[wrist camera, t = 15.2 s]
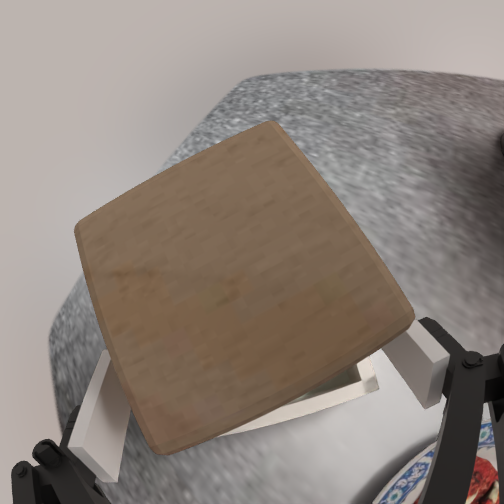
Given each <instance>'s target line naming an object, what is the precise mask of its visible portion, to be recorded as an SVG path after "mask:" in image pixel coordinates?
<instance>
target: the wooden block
mask: <svg viewBox="0 0 504 504" xmlns="http://www.w3.org/2000/svg"><path fill="white" fill-rule="evenodd" d="M74 233H75V238H76V242H77V246H78V251H79V255H80V259H81V263H82V268H83V271H84V275H85V279H86V283H87V286H88V290H89V293H90V297H91V300H92V304H93V307H94V310H95V314H96V317H97V320H98V323H99V326H100V329H101V332H102V335H103V338H104V341H105V344H106V347H107V349H108V352H109V355H110V358H111V360H112V363H113V366H114V368H115V371H116V373H117V376H118V378H119V381H120V383H121V386H122V388H123V391H124V393H125V395H126V398H127V400H128V402H129V405H130V407H131V409H132V411H133V414H134V416H135V418H136V420H137V422H138V425H139V427H140V429H141V431H142V433H143V435H144V437H145V439H146V441H147V443H148V445H149V447H150V448H151V449H152V450H153V452H154V453H155V454H158V455H171V454H174V453H177V452H179V451H182V450H185V449H187V448H190V447H193V446H195V445H198V444H200V443H203V442H205V441H208V440H210V439H213V438H215V437H217V436H220V435H222V434H224V433H227V432H229V431H231V430H233V429H236V428H238V427H240V426H242V425H245V424H247V423H249V422H251V421H253V420H255V419H257V418H259V417H261V416H264V415H266V414H268V413H270V412H272V411H274V410H276V409H278V408H280V407H282V406H284V405H285V404H287V403H289V402H291V401H293V400H295V399H297V398H299V397H301V396H302V395H304V394H306V393H308V392H310V391H312V390H313V389H315V388H317V387H319V386H320V385H322V384H324V383H326V382H327V381H329V380H331V379H333V378H334V377H336V376H338V375H339V374H341V373H343V372H344V371H346V370H347V369H349V368H351V367H352V366H354V365H356V364H357V363H359V362H360V361H362V360H363V359H365V358H367V357H368V356H370V355H371V354H373V353H374V352H376V351H377V350H379V349H380V348H382V347H383V346H385V345H386V344H388V343H389V342H391V341H392V340H394V339H395V338H396V337H398V336H399V335H401V334H402V333H404V332H405V331H406V330H408V329H409V328H410V326H411V325H412V323H413V321H414V320H415V314H414V310H413V308H412V306H411V304H410V303H409V301H408V300H407V298H406V296H405V295H404V293H403V292H402V290H401V288H400V287H399V285H398V284H397V282H396V281H395V279H394V277H393V276H392V274H391V273H390V271H389V270H388V268H387V267H386V265H385V264H384V262H383V261H382V259H381V258H380V256H379V255H378V253H377V252H376V250H375V249H374V247H373V246H372V245H371V243H370V242H369V240H368V239H367V237H366V236H365V235H364V233H363V232H362V230H361V229H360V227H359V226H358V225H357V223H356V222H355V220H354V219H353V218H352V216H351V215H350V214H349V212H348V211H347V209H346V208H345V207H344V205H343V204H342V203H341V201H340V200H339V199H338V197H337V196H336V195H335V193H334V192H333V191H332V189H331V188H330V187H329V186H328V184H327V183H326V182H325V180H324V179H323V178H322V176H321V175H320V174H319V173H318V171H317V170H316V169H315V168H314V166H313V165H312V164H311V163H310V161H309V160H308V159H307V158H306V156H305V155H304V154H303V153H302V151H301V150H300V149H299V148H298V147H297V145H296V144H295V143H294V142H293V141H292V139H291V138H290V137H289V136H288V135H287V133H286V132H285V131H284V130H283V129H282V127H281V126H280V125H279V124H278V123H277V122H275V121H266V122H263V123H261V124H259V125H257V126H254V127H252V128H250V129H248V130H245V131H243V132H241V133H239V134H237V135H235V136H232V137H230V138H228V139H226V140H224V141H222V142H220V143H218V144H216V145H213V146H211V147H209V148H207V149H205V150H203V151H201V152H199V153H197V154H195V155H193V156H191V157H189V158H187V159H186V160H184V161H182V162H180V163H178V164H176V165H174V166H172V167H170V168H168V169H166V170H165V171H163V172H161V173H159V174H157V175H155V176H154V177H152V178H150V179H148V180H146V181H145V182H143V183H141V184H139V185H138V186H136V187H134V188H132V189H131V190H129V191H127V192H125V193H124V194H122V195H120V196H119V197H117V198H115V199H114V200H112V201H110V202H109V203H107V204H105V205H104V206H102V207H100V208H99V209H97V210H96V211H94V212H92V213H91V214H89V215H88V216H86V217H85V218H83V219H82V220H80V221H79V222H78V223H77V224H76V226H75V229H74Z"/></svg>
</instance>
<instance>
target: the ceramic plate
mask: <svg viewBox="0 0 504 504" xmlns="http://www.w3.org/2000/svg"><path fill="white" fill-rule="evenodd" d="M436 444H437V441H435V442H434V443H432V444H431V445H429V446H428V447H427V448H426V449H424V450H423V451H422V452H420V453H419V454H418V455H416V456H415V457H414V458H413V459H412V460H411V461H410V462H409V463H407V464H406V465H405V466H404V467H403V468H402V469H401V470H400V471H399V472H398V473H397V474H396V475H395V476H394V477H393V478H392V479H391V480H390V481H389V482H388V483H387V485H386V486H385V487H384V488H383V489H382V490H381V492H380V493H379V494H378V496H377V497H376V498H375V499H374V501H373V502H372V504H418V501H419V499H420V496H421V493H422V490H423V487H424V484H425V481H426V478H427V475H428V472H429V468H430V465H431V462H432V458H433V455H434V451H435V448H436ZM465 504H499V483H498V470H497V460H496V451H495V443H494V436H493V429H492V423H491V419H488V420H482V422H481V430H480V437H479V443H478V449H477V455H476V460H475V465H474V470H473V475H472V479H471V484H470V488H469V492H468V496H467V500H466V503H465Z"/></svg>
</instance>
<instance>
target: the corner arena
mask: <svg viewBox="0 0 504 504" xmlns="http://www.w3.org/2000/svg"><path fill="white" fill-rule="evenodd" d="M378 389H379V386H378V382H377V379H376V376H375V373H374V369H373V366H372V363H371V360H370V357H369V356H368V357H367V358H365V359H363V360H362V361H360V362H359V363H357V364H356V365H354V366H352V367H351V368H349V369H347V370H346V371H344V372H343V373H341V374H339V375H338V376H336V377H334V378H333V379H331V380H329V381H327V382H326V383H324V384H322V385H320V386H319V387H317V388H315V389H313V390H312V391H310V392H308V393H306V394H304V395H302V396H301V397H299V398H297V399H295V400H293V401H291V402H289V403H287V404H285V405H284V406H282V407H280V408H278V409H276V410H274V411H272V412H270V413H268V414H266V415H264V416H261V417H259V418H257V419H255V420H253V421H251V422H249V423H247V424H245V425H242V426H240V427H238V428H236V429H233V430H231V431H229V432H227V433H224V434H222V435H220V436H225V435H230V434H235V433H239V432H244V431H248V430H253V429H257V428H261V427H265V426H269V425H273V424H276V423H280V422H284V421H287V420H291V419H294V418H298V417H301V416H304V415H308V414H311V413H314V412H317V411H320V410H323V409H326V408H329V407H332V406H335V405H338V404H341V403H344V402H347V401H349V400H352V399H355V398H358V397H360V396H363V395H366V394H368V393H371V392H373V391H376V390H378ZM220 436H217V437H220Z"/></svg>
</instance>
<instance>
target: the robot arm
mask: <svg viewBox="0 0 504 504" xmlns="http://www.w3.org/2000/svg"><path fill="white" fill-rule="evenodd" d="M501 147H502V152H503V155H504V134H503V135H502V138H501ZM382 350H383V351H384V353H385V354H386V355H387V357H388V358H389V359H390V361H391V362H392V364H393V365H394V366H395V368H396V369H397V371H398V372H399V373H400V375H401V376H402V378H403V379H404V380H405V382H406V383H407V385H408V386H409V388H410V389H411V390H412V392H413V393H414V395H415V396H416V398H417V399H418V400H419V402H420V403H421V405H422V406H423V408H424V409H427V408H429V407H431V406H433V405H435V404H437V403H439V402H440V400H441V396H442V393H443V395H444V396H445V397H446V399H447V400H446V404H445V408H444V411H443V419H442V423H441V428H440V432H439V436H438V440H437V444H436V448H435V451H434V455H433V458H432V462H431V465H430V468H429V472H428V475H427V478H426V481H425V484H424V487H423V490H422V493H421V496H420V499H419V501H418V504H465V503H466V500H467V496H468V492H469V488H470V484H471V479H472V475H473V470H474V465H475V460H476V455H477V449H478V443H479V437H480V430H481V422H482V414H483V404H484V403H486V402H488V406H489V411H490V417H491V423H492V429H493V436H494V443H495V451H496V460H497V470H498V483H499V504H504V344H503V345H502V346H501V349H500V352H499V353H497V354H493V355H489V356H482V355H481V354H479V353H478V352H474V351H466V350H465V349H464V348H463V347H462V346H461V345H460V344H459V343H458V342H457V341H456V340H455V339H454V338H453V337H452V336H451V335H450V334H448V332H447V331H446V330H445V329H443V328H442V326H441V325H439V324H438V323H437V322H436V321H435V320H432V319H430V318H428V317H425V318H423V319H420V320H418V321H417V320H416V319H415V320H414V321H413V323H412V325H411V326H410V328H409V329H408V330H406V331H405V332H404V333H402V334H401V335H399V336H398V337H396V338H395V339H394V340H392V341H391V342H389V343H388V344H386V345H385V346H383V347H382ZM130 411H131V407H130V405H129V402H128V400H127V398H126V395H125V393H124V391H123V388H122V386H121V383H120V381H119V378H118V376H117V373H116V371H115V368H114V366H113V363H112V360H111V358H110V355H109V352H108V349H106V350H103V351H102V353H101V356H100V358H99V361H98V363H97V366H96V368H95V371H94V373H93V376H92V379H91V381H90V384H89V386H88V389H87V392H86V394H85V397H84V400H83V403H82V405H81V406H76V408H75V409H74V410H73V411H72V413H71V415H70V417H69V420H68V423H67V426H66V430H65V431H64V434H63V437H62V440H61V443H60V446H59V447H58V446H57V445H56V444H55V443H54V441H52V440H50V439H45V440H42V441H40V442H39V443H38V444H37V445H36V446H35V447H34V449H33V452H32V456H33V458H34V459H35V460H36V461H37V462H38V463H39V464H40V465H38V466H35V467H33V466H32V465H31V464H30V463H28V462H27V461H20V462H19V463H17V464H16V465H15V466H14V467H13V469H12V473H11V478H12V495H13V504H111V503H110V501H109V500H108V499H107V497H106V496H105V494H104V493H103V491H102V490H101V489H100V487H99V486H98V485H97V484H96V483H95V478H96V476H97V477H98V478H99V479H100V480H101V481H102V482H118V476H119V470H120V464H121V458H122V453H123V447H124V442H125V437H126V431H127V426H128V421H129V416H130Z"/></svg>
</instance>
